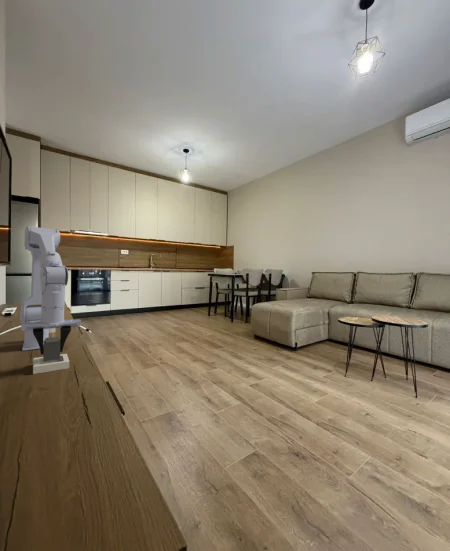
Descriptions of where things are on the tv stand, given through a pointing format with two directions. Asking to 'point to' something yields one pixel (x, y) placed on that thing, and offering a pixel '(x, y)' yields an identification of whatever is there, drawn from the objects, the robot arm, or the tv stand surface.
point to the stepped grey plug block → (51, 349)
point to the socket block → (50, 364)
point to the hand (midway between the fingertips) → (51, 352)
